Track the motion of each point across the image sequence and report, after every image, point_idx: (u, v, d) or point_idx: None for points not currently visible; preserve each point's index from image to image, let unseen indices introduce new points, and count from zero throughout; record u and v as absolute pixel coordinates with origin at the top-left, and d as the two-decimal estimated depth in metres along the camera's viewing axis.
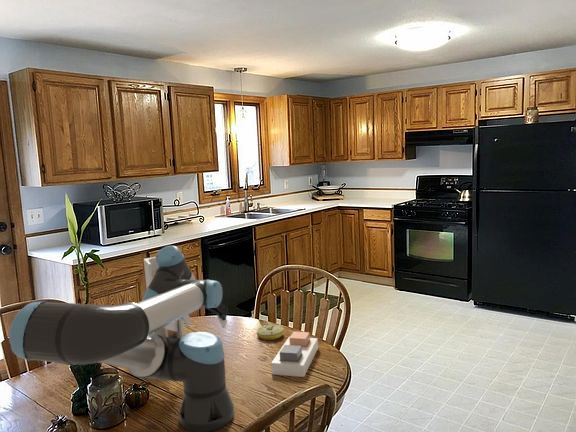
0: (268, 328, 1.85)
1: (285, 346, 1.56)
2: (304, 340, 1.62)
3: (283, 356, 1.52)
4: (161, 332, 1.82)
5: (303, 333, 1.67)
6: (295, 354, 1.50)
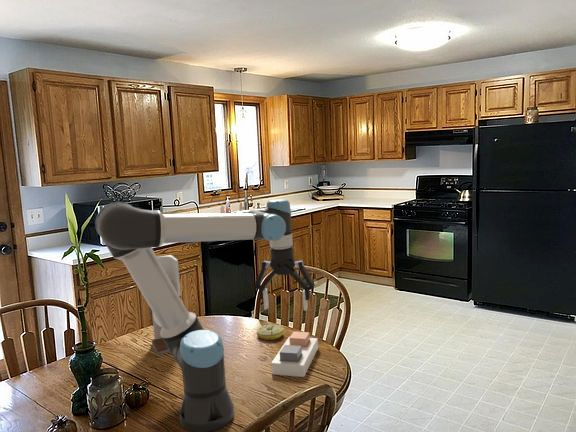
0: (268, 328, 1.85)
1: (285, 346, 1.56)
2: (304, 340, 1.62)
3: (283, 356, 1.52)
4: None
5: (303, 333, 1.67)
6: (295, 354, 1.50)
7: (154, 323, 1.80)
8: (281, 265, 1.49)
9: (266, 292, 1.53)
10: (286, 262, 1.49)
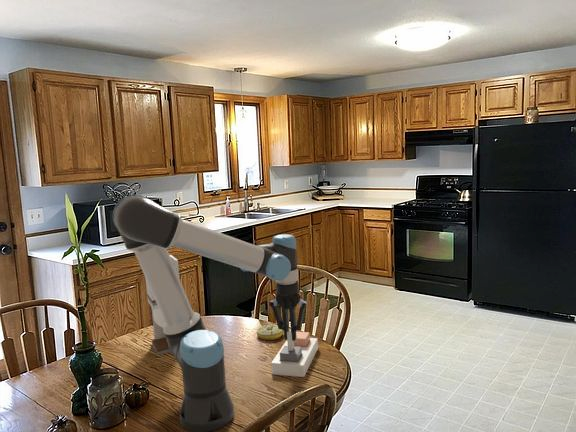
0: (268, 328, 1.85)
1: (285, 347, 1.56)
2: (304, 340, 1.62)
3: (283, 357, 1.52)
4: (161, 332, 1.82)
5: (303, 333, 1.67)
6: (295, 355, 1.50)
7: (154, 323, 1.80)
8: (286, 300, 1.50)
9: None
10: (294, 295, 1.49)
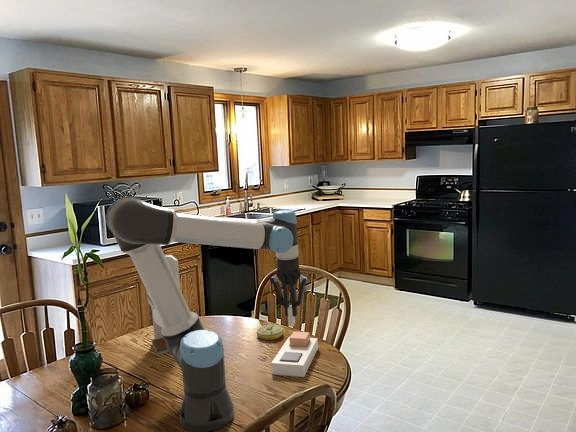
0: (268, 328, 1.85)
1: (285, 353, 1.56)
2: (304, 340, 1.62)
3: None
4: None
5: (303, 333, 1.67)
6: (296, 361, 1.51)
7: (154, 323, 1.80)
8: (287, 275, 1.51)
9: None
10: (294, 270, 1.50)
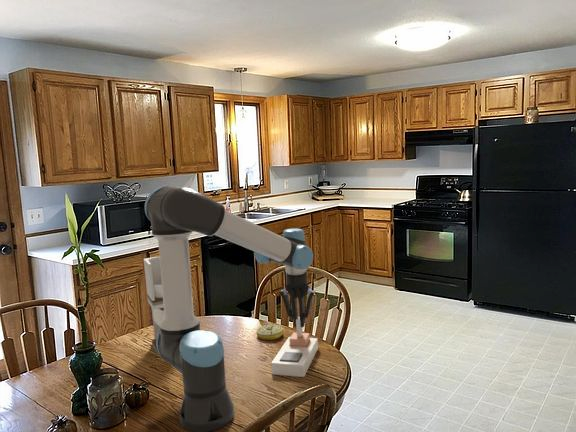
0: (268, 328, 1.85)
1: (285, 353, 1.56)
2: (304, 341, 1.62)
3: None
4: None
5: (303, 334, 1.67)
6: (296, 361, 1.51)
7: (154, 323, 1.80)
8: (295, 289, 1.62)
9: None
10: (302, 284, 1.61)
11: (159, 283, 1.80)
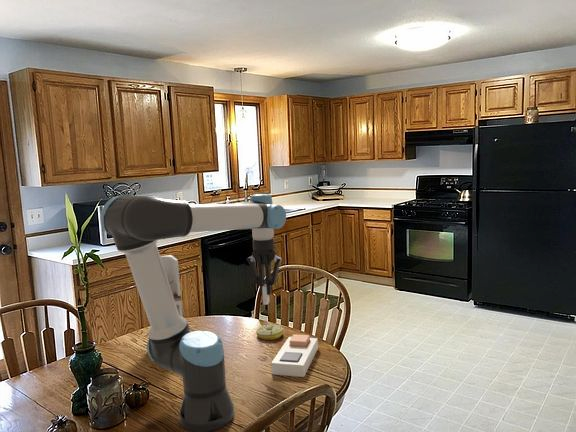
0: (268, 328, 1.85)
1: (285, 353, 1.56)
2: (304, 343, 1.62)
3: None
4: None
5: (303, 336, 1.67)
6: (296, 361, 1.51)
7: None
8: (262, 255, 1.60)
9: None
10: (269, 251, 1.59)
11: None
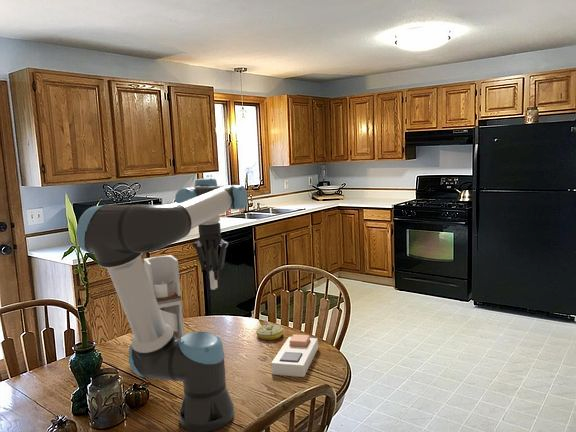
0: (267, 328, 1.85)
1: (285, 353, 1.56)
2: (304, 343, 1.62)
3: None
4: None
5: (303, 336, 1.67)
6: (296, 361, 1.51)
7: None
8: (208, 240, 1.58)
9: None
10: (215, 235, 1.57)
11: (159, 283, 1.80)
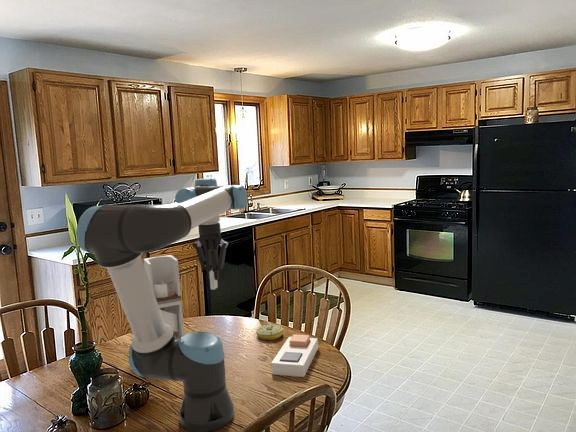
0: (267, 328, 1.85)
1: (285, 353, 1.56)
2: (304, 343, 1.62)
3: None
4: None
5: (303, 336, 1.67)
6: (296, 361, 1.51)
7: None
8: (208, 240, 1.58)
9: None
10: (215, 235, 1.57)
11: (159, 283, 1.80)
